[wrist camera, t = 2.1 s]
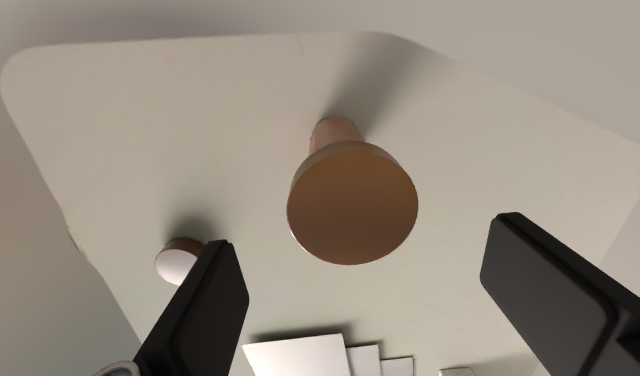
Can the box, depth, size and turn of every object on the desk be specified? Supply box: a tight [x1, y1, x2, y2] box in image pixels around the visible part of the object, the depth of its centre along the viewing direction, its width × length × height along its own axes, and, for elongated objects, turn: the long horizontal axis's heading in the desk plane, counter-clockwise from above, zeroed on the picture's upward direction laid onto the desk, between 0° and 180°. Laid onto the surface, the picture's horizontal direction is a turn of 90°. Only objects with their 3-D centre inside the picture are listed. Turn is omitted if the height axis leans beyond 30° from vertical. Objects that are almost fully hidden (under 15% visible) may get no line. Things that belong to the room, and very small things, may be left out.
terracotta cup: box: [308, 116, 365, 157], centre depth 18 cm, size 4×4×11 cm
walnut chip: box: [155, 237, 205, 285], centre depth 28 cm, size 5×5×2 cm
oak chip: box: [287, 141, 418, 265], centre depth 12 cm, size 6×6×2 cm
